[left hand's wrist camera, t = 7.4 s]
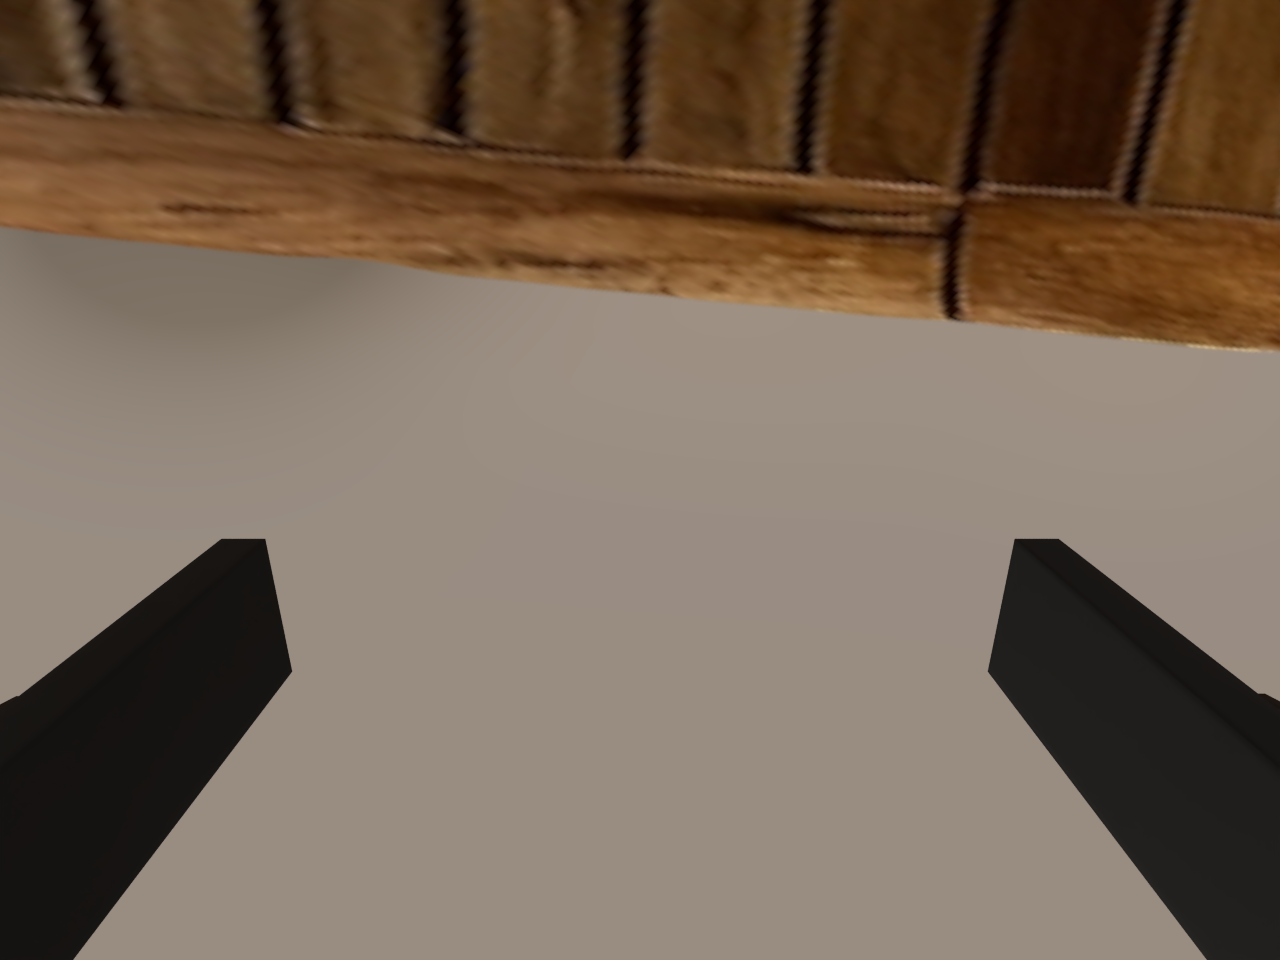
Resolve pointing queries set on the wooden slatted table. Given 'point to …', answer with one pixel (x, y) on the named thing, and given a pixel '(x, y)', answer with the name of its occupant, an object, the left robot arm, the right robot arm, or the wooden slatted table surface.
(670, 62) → the wooden slatted table surface
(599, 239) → the wooden slatted table surface
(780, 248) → the wooden slatted table surface
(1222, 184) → the wooden slatted table surface
